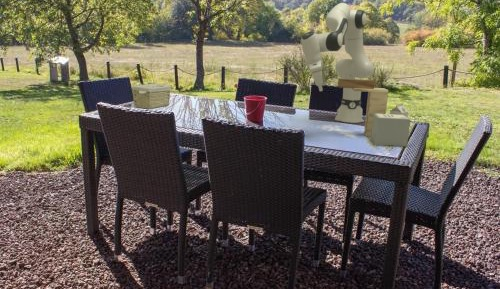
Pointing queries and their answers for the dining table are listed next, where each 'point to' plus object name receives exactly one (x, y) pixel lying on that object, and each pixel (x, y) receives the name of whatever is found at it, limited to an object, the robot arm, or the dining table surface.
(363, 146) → the dining table surface
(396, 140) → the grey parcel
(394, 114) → the letter
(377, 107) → the pine shelf
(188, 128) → the dining table surface
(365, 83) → the walnut bar
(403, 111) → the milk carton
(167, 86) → the storage basket
